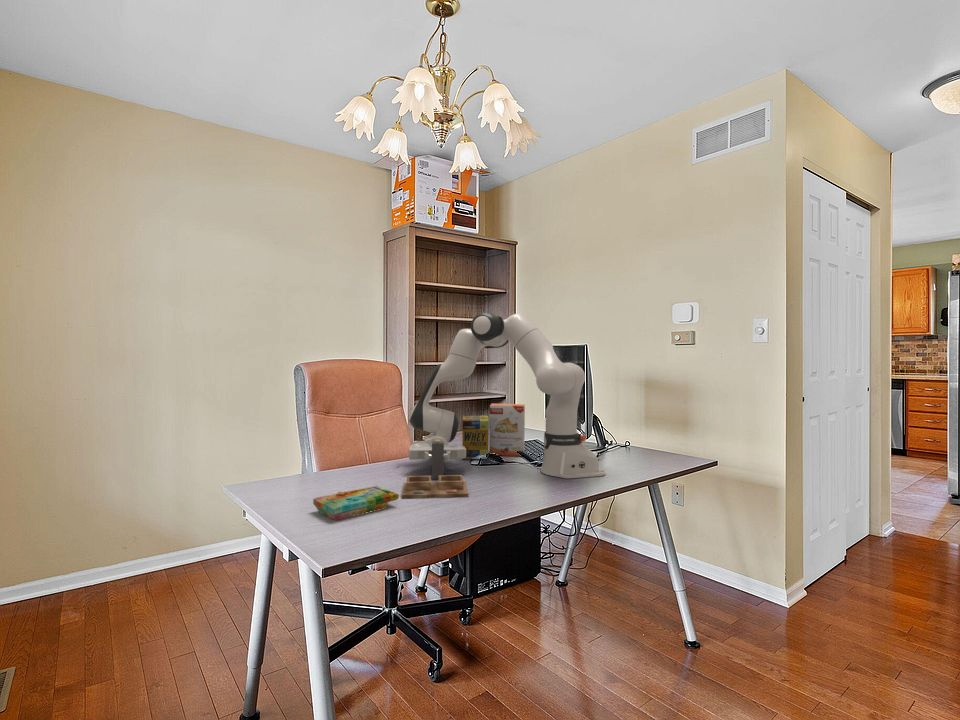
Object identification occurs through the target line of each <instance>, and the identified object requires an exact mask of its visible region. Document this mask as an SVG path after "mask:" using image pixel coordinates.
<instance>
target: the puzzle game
mask: <svg viewBox="0 0 960 720" xmlns="http://www.w3.org/2000/svg"><path fill="white" fill-rule="evenodd" d="M399 495H400V494H398V493H396V492H393V491H391V490H388V489H386V488H383V487H380V486H378V485H373V486H369V487H364V488H358V489H352V490H348V491H343V492H342V491H337V493H333V494H327V495H324V496H319V497H315V498H313V499H312V501H313V502H312V504H313V506H315V508H316V509H317V511H318V512H319V513H320V512H321V513H320V514H322V513H323V514H322V515H324V514H325V515H324V516H326V515H327V516H326V517H328V518H329V517H330V519H331V518H332V519H331V520H333V519H334V520H333V521H335V520H336V521H339V520H338V519H340V520H343V519H342V518H344V519H347V518H346V517H348V518H351V517H350V516H352V517H354V516H353V515H356V516H358V515H357V514H360V515H363V514H362V513H364V514H367V513H366V512H368V513H371V512H370V511H372V512H375V511H374V510H376V511H379V510H378V509H380V510H384V509H386V507H387V506H388V503H390V502H394V501H397V500H398V499H399V497H400V496H399ZM383 508H384V509H383Z"/></svg>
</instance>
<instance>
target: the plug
mask: <svg viewBox="0 0 960 720" xmlns="http://www.w3.org/2000/svg"><path fill="white" fill-rule="evenodd" d="M444 466H445V459H444V442H443V441H441V440H439V439H437V440H435V441H432V460H431V480H433V479H435V480H436V479H438V480H439V476H442V475H445V474H444V473H445V472H444V471H445V467H444Z"/></svg>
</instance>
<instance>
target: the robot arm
mask: <svg viewBox="0 0 960 720" xmlns="http://www.w3.org/2000/svg"><path fill="white" fill-rule="evenodd" d="M509 342H510V343H511V346H513V347H514V348H515V349H516V351H517V352H518V353H519V354H520V355H521V356H522V358H523V359H524V360H525V361H526V364H528V366H529V367H530V369H531V371H532V372H533V374H534V376H535V380H536V385H537V388H538V389H539V390H540V392H541V393H543V394H546V395H548V396H549V395H550V398H549V402H548V405H547V407H546V409H545V431H544V433H543V434H544V436H543V446H544V447H543V448H544V451H543V452H544V453H543V460H542V461H543V462H542V465H541V468H540V472H541V474H545V475H547V476H552V477H558V478H562V479H579V478H591V477H593V478H594V477H603V476H606V470H605V469H604V468H602V467H601V466H599V460H598V457H597V454H595V453H594V452H593V451H592V450H591V449H590V448H588V447H587V446H586V445H584V444H583V442H586V441H587V437H586V436H585V435H583V434H580V433H579V432H578V430H577V429H578V408H579V403H580V399H581V394H582V393H581V392H582V388H583V385H584V383H585V381H586V373H585V371H584V370H583V368H582V367H581V366H580V365H578V364H576V363H573V362H562V361H561V360H560V358H559V357H558V356H557V354H556V352H555V350H554V345H553V344H552V342H551V341H550V340H549V339H548V338H547V337H546V335H544V334H543V332H542V330H540V329H539V327H537V325H535V324H534V323H533V322H532V321H531V320H530V319H529V318H527V317H526V316H525V315H524V314H522V313H514V314H511V315H509V316H508V317H507V318H506V319H504V318H503V317H502V316H499V315H497V314H493V313H490V312H480V313H477V314H476V315H475V316H474V317H473V318H472V320H471V323H470V328H461V329H459V331H457V334H456V335H455V337H454V339H453V342H452V344H451V346H450V350H449V352H448V356H447V357H446V358H445V360H444V361H443V362H442V363H439V364H437V365H436V367H435V368H434V369H433V370H432V371H433V372H431V374H430V377H429V379H428V381H427V382H426V384H425V387H424V388H423V390H422V392H421V394H420V397H419V399H418V401H417V403H415V405H414V407H413V408H412V410H411V412H410V414H409V420H408V421H409V424H410V425H411V426H412V428H413V429H414V430H417V431H423V432H424V431H425V432H427V433H428V432H429V433H430V434H429V435H427V437H426V438H424V439H419V440H414V441H413V443H412V444H411V445H409V448H408V460H410V461H413V460H415V461H416V460H425V461H426V460H427V461H431V462H432V441H435V440H437V439H439V440H441V441H443V442H444V460H454V459H456V460H457V459H462V460H464V459H463V458H466V448H465V447H464V446H462V444H449V443H451V442H453V441H454V439H455V438H456V436H457V432H458V429H459V417H458V415H457V414H456V412H454V411H450V410H448V409H444V408H443V409H442V408H439V407H437V406H436V407H435V406H433V405H430V401H431V399H432V397H433V395H434V393H435V391H436V389H437V387H438V386H439V385H440V384H442V383H443V382H444V383H445V382H449V381H460V380H464V379H467V378H469V377H470V376H471V375H472V374H473V372H474V370H475V368H476V366H477V362H478V359H479V355H480V351H481V350H482V349H483V348H485V349H499V348H503V347H505V346H506V345H507V344H509Z"/></svg>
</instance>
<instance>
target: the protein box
mask: <svg viewBox="0 0 960 720" xmlns="http://www.w3.org/2000/svg"><path fill="white" fill-rule="evenodd" d="M461 432H462V433H461V435H462V439H461V440H462V441H461V442H462V444H461V445H462V446H464V447H465V448H466V458H463V459H462V460H465V459H472V458H474V457H476V456H478V455H482V454H488V455H489V440H490V420H489V416H488V415H475V414H474V415H472V414H471V415H463V416H462V431H461Z"/></svg>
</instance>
